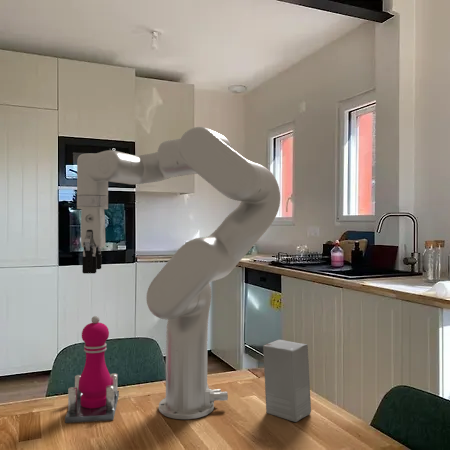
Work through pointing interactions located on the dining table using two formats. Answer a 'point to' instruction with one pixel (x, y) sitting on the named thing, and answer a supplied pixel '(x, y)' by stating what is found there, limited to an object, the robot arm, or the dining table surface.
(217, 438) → the dining table surface
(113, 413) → the stand
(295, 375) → the skincare box
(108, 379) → the pepper mill
